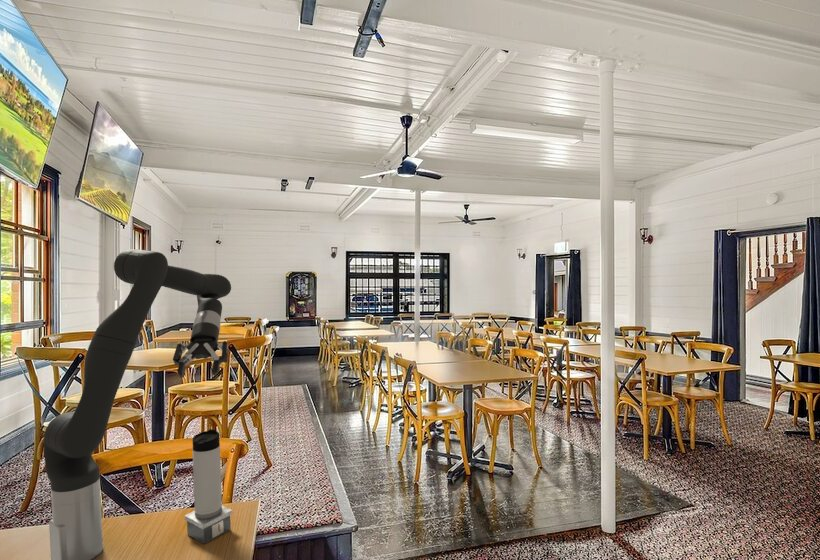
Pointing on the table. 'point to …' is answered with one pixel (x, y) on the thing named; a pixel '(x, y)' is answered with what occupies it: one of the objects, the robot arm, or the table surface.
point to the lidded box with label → (208, 525)
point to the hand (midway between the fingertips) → (197, 375)
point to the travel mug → (207, 474)
